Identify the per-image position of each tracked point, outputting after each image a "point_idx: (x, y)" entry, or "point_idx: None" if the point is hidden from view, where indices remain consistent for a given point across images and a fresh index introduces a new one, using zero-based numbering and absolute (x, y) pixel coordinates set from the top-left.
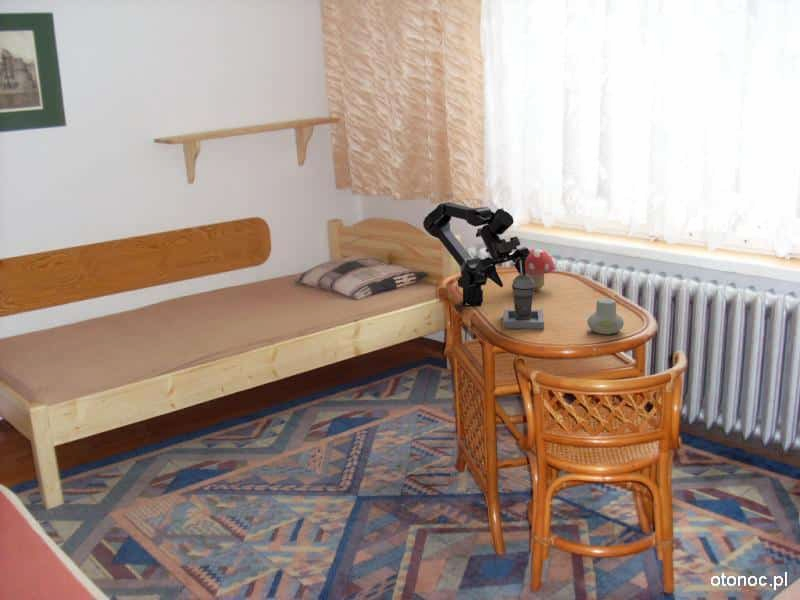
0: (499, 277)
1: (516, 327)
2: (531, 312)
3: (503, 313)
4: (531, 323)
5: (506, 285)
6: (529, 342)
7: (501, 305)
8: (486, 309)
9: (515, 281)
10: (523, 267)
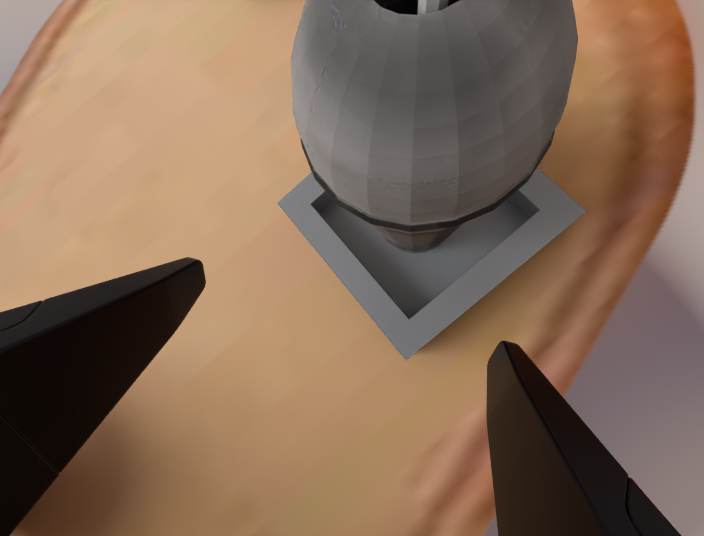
0: (554, 438)
1: None
2: (329, 227)
3: (463, 311)
4: None
5: None
6: (615, 15)
7: (268, 481)
8: (370, 507)
9: (569, 63)
10: (33, 320)
